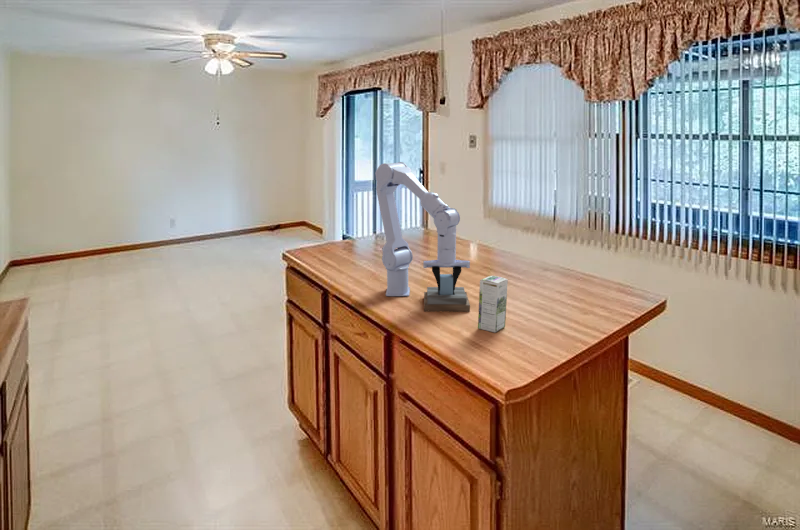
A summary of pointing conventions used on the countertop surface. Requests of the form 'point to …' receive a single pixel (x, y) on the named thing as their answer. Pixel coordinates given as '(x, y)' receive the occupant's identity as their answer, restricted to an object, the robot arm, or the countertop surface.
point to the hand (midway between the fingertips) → (446, 289)
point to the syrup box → (492, 303)
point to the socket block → (446, 300)
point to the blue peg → (446, 284)
